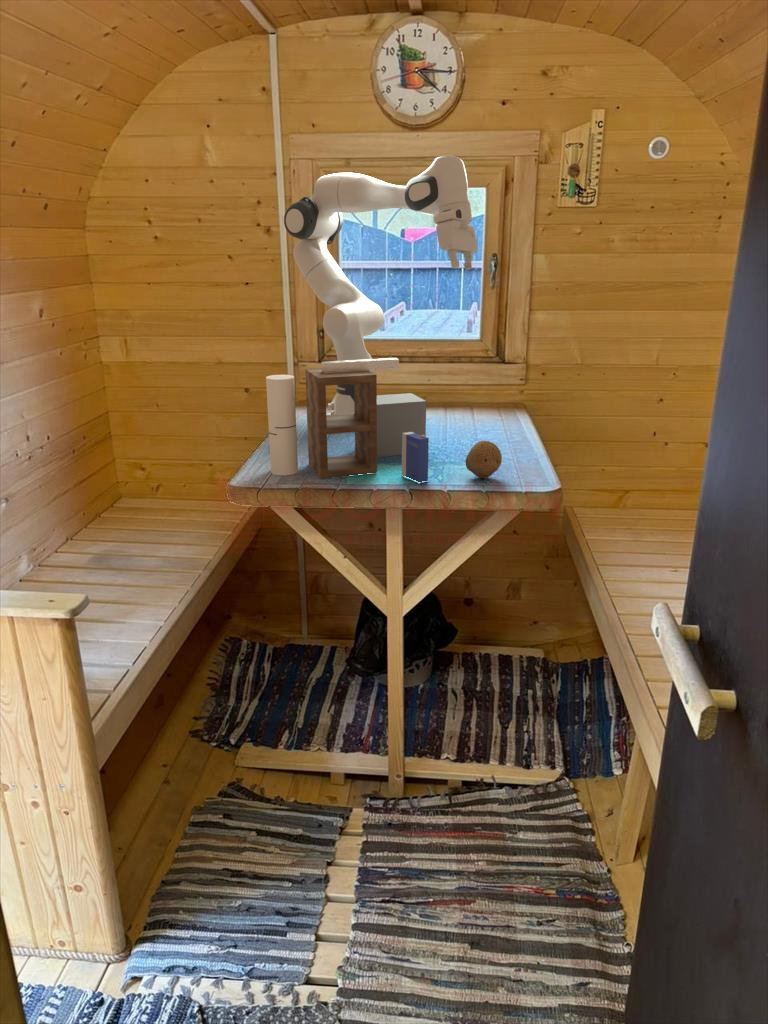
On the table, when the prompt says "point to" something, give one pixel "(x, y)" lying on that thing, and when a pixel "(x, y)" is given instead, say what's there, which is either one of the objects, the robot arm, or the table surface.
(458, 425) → the table surface
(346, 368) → the tan bar
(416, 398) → the block
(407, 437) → the walkman
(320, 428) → the walnut shelf
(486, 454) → the natural sponge
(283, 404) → the cylindrical container
